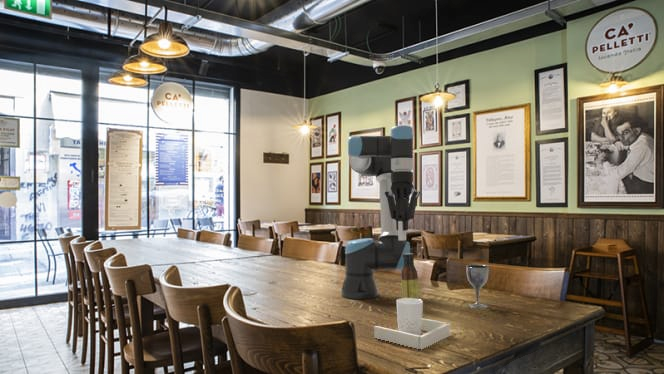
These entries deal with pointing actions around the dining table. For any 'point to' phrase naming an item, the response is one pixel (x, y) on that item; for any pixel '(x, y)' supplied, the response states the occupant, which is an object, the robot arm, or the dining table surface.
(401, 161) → the robot arm
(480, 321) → the dining table surface
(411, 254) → the sauce bottle
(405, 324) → the white cup
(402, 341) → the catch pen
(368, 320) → the dining table surface
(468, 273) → the wine glass
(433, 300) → the dining table surface
